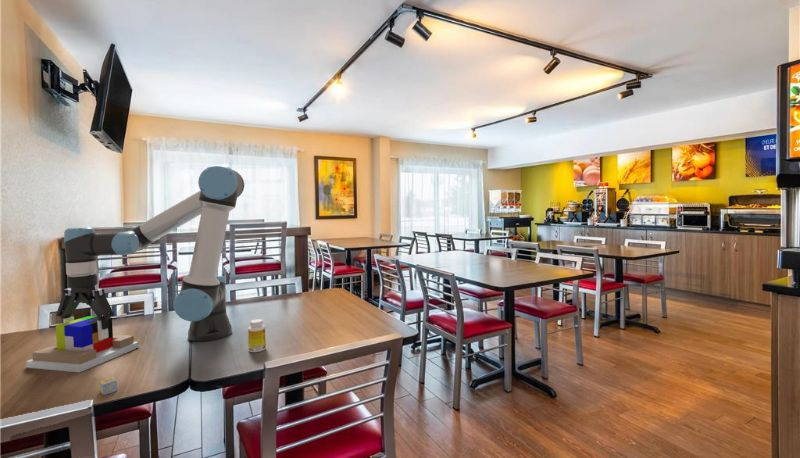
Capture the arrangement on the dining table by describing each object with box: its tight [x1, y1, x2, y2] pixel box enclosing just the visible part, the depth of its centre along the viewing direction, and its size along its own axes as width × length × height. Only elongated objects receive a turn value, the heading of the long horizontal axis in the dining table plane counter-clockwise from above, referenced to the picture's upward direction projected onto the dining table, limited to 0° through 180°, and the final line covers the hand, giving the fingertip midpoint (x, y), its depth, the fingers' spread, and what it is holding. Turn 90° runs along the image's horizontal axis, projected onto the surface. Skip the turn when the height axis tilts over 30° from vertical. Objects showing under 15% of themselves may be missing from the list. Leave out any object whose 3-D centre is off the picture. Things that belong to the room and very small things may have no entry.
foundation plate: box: [25, 334, 140, 373], centre depth 120 cm, size 20×20×4 cm
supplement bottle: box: [247, 318, 267, 353], centre depth 125 cm, size 6×6×10 cm
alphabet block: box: [99, 377, 118, 396], centre depth 97 cm, size 3×3×3 cm
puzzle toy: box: [55, 315, 114, 353], centre depth 120 cm, size 10×10×10 cm
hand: (86, 338), depth 120 cm, fingers open, 13 cm apart
